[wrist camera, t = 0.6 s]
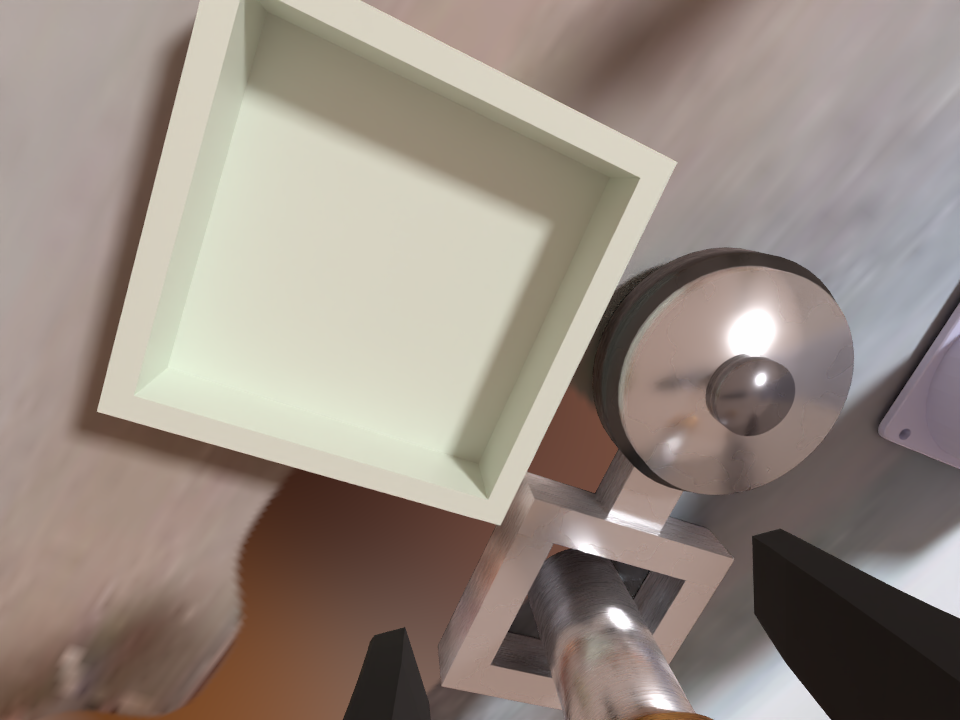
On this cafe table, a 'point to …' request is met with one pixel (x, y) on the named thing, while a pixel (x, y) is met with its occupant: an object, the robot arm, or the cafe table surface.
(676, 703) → the jar with gold lid
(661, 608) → the tensioner bracket
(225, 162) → the parts tray
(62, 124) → the cafe table surface
